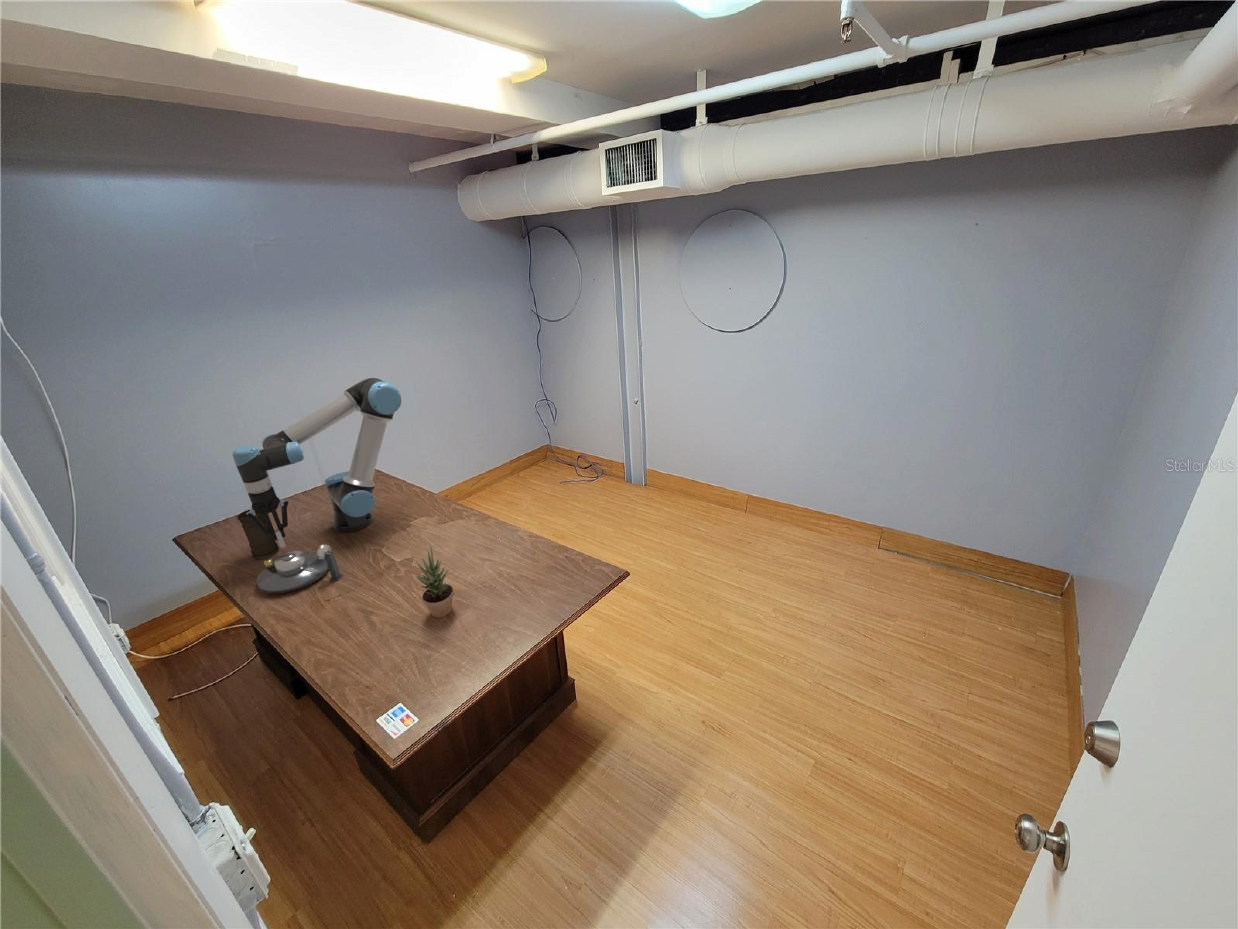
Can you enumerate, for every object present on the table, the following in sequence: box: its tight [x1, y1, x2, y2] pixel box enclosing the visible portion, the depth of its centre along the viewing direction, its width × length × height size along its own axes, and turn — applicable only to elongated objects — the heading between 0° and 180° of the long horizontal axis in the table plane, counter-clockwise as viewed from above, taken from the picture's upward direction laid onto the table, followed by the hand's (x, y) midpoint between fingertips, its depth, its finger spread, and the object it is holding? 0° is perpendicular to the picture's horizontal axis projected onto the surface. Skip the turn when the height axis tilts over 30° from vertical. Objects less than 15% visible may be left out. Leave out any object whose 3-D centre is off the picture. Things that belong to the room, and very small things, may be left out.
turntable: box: [256, 551, 329, 595], centre depth 176 cm, size 22×22×5 cm
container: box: [237, 508, 280, 560], centre depth 190 cm, size 9×9×18 cm
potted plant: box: [415, 544, 455, 618], centre depth 153 cm, size 10×10×25 cm
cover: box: [273, 550, 308, 578], centre depth 175 cm, size 9×9×6 cm
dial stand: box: [316, 544, 344, 582], centre depth 174 cm, size 4×5×14 cm
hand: (282, 545), depth 184 cm, fingers closed
